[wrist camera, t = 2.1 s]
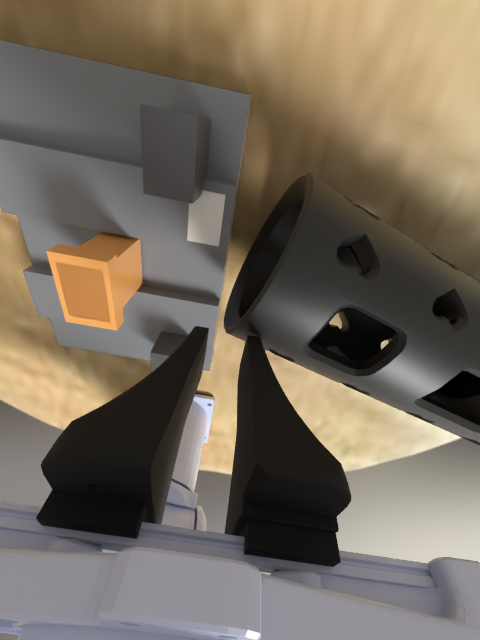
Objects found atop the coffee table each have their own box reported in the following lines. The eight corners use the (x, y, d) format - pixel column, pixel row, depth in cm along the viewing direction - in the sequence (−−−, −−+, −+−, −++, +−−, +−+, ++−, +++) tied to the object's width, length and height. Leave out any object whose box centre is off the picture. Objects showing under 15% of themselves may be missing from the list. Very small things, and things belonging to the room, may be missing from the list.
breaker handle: (146, 289, 20) (116, 330, 16) (106, 282, 19) (65, 321, 15) (144, 231, 17) (107, 262, 13) (98, 222, 17) (46, 250, 13)
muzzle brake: (299, 155, 16) (336, 186, 8) (578, 336, 22) (767, 464, 14) (231, 277, 21) (209, 374, 13) (471, 396, 27) (560, 514, 19)
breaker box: (212, 356, 26) (202, 402, 22) (71, 331, 26) (30, 373, 21) (251, 99, 15) (247, 84, 10) (-7, 42, 14) (-134, 0, 9)
